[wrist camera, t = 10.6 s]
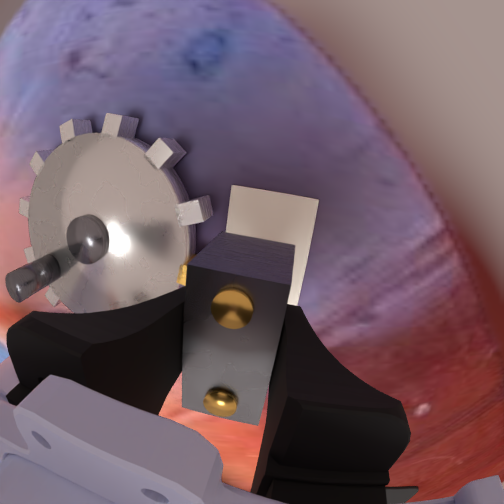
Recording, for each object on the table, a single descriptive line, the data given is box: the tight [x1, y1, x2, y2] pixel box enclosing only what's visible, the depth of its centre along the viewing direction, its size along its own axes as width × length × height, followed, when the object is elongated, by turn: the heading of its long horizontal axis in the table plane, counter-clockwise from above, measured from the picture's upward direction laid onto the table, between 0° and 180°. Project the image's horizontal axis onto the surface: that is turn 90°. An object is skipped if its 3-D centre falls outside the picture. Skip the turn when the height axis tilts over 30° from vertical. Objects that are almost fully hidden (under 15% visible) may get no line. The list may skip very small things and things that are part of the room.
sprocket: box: [6, 113, 214, 313], centre depth 17 cm, size 15×15×6 cm
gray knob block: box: [182, 232, 295, 426], centre depth 11 cm, size 6×3×4 cm, turn 172°
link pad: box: [226, 185, 319, 306], centre depth 19 cm, size 8×5×1 cm, turn 172°
